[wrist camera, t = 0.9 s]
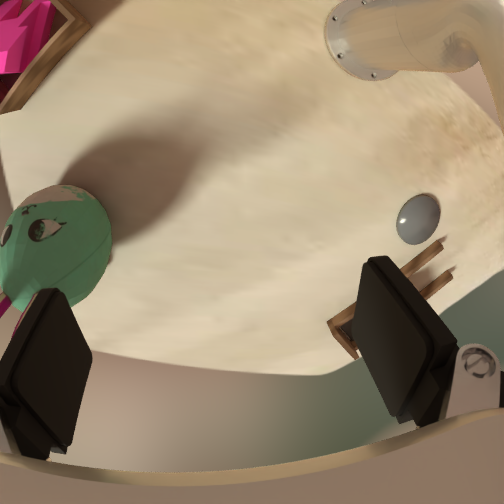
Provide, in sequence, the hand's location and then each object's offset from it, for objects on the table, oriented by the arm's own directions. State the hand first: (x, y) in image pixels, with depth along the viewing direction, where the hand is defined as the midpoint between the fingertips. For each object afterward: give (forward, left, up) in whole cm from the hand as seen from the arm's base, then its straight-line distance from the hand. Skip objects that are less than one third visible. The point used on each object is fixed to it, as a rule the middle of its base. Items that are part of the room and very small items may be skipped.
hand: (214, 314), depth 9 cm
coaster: (-19, +31, -35) cm, 50 cm away
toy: (+23, -4, -35) cm, 42 cm away
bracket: (+9, -32, -35) cm, 48 cm away
